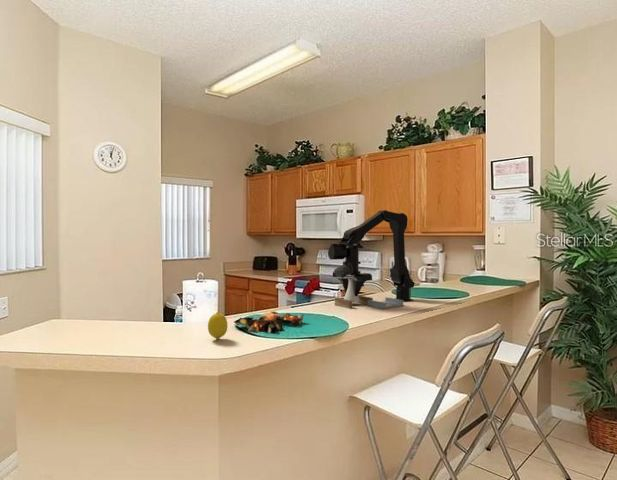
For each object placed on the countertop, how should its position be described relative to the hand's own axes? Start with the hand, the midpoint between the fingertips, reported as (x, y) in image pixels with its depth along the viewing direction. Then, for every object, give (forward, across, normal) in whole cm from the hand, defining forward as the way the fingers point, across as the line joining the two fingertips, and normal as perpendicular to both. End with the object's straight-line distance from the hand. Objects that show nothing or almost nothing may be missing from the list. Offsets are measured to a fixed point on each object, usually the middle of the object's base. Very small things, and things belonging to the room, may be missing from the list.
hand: (351, 295), depth 172 cm
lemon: (+4, +16, -70) cm, 72 cm away
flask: (+3, 0, 0) cm, 3 cm away
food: (+5, +9, -48) cm, 49 cm away
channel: (+4, +1, 0) cm, 4 cm away
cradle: (+4, +11, +9) cm, 15 cm away
